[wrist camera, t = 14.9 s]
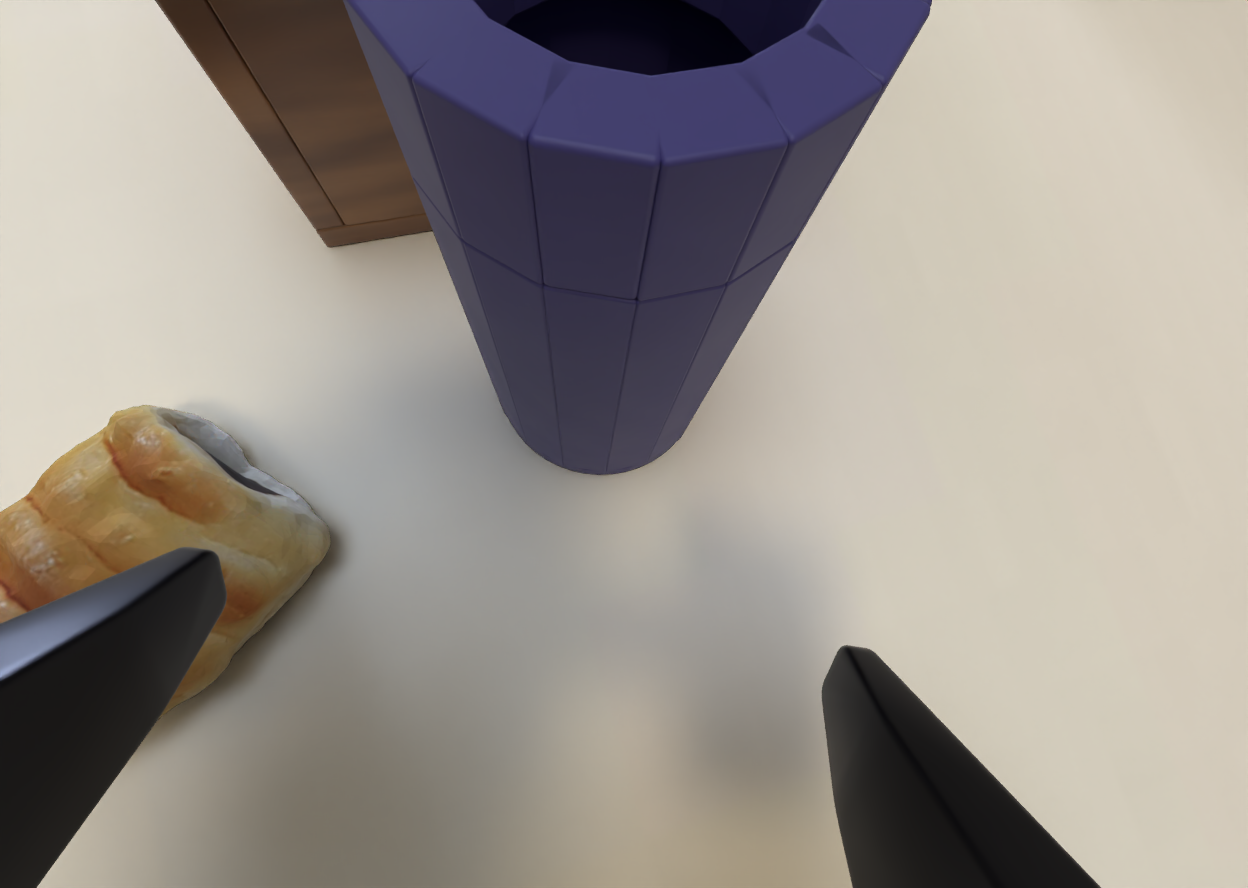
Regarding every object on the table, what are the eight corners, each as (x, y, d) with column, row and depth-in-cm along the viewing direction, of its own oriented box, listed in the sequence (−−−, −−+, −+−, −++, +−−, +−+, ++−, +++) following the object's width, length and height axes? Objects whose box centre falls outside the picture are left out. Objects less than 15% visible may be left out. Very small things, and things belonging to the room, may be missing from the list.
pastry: (100, 849, 14) (-65, 930, 11) (-93, 681, 15) (-310, 703, 11) (364, 531, 17) (303, 509, 13) (187, 399, 18) (82, 343, 14)
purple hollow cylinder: (738, 400, 19) (1055, -20, 6) (577, 516, 17) (567, 280, 5) (620, 256, 20) (688, -349, 7) (460, 355, 18) (208, -178, 6)
